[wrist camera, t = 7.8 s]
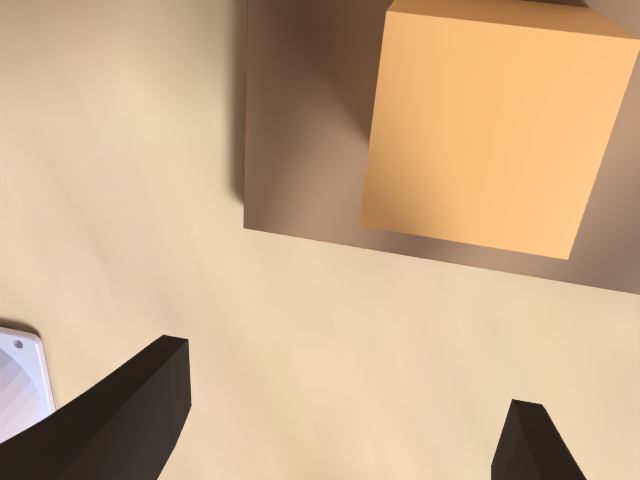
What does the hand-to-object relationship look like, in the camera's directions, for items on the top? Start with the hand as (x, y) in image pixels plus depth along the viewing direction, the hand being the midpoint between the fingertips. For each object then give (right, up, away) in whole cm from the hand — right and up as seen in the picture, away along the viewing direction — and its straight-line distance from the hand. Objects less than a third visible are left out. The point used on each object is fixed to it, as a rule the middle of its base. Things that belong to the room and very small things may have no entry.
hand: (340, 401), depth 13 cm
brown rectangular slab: (+4, +9, +5) cm, 11 cm away
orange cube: (+4, +8, +4) cm, 10 cm away
